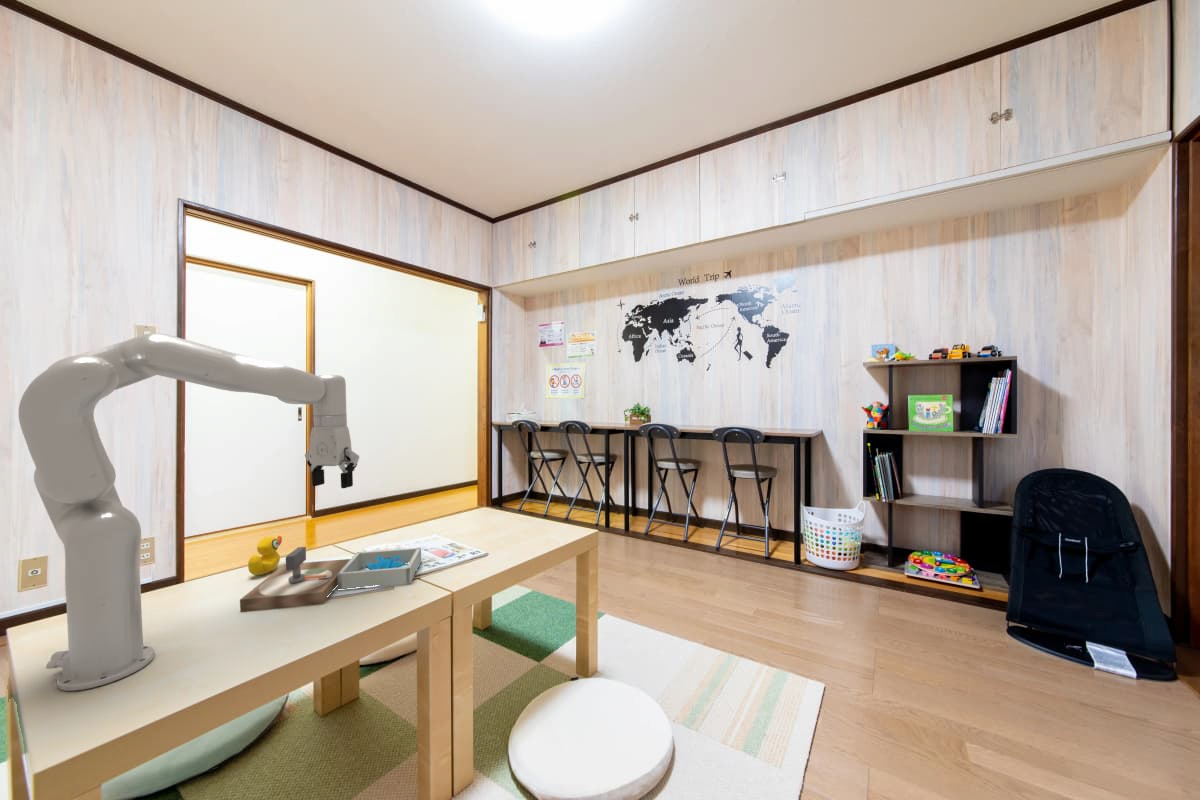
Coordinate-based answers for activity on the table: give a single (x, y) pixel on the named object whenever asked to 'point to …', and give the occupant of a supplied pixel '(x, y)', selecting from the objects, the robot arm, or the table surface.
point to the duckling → (265, 556)
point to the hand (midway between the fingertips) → (332, 486)
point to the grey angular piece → (298, 565)
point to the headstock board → (294, 587)
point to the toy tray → (382, 577)
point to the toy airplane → (385, 563)
